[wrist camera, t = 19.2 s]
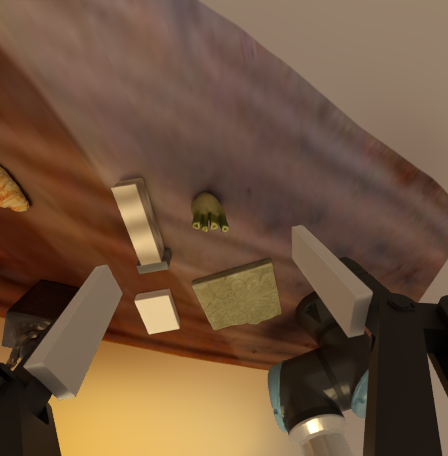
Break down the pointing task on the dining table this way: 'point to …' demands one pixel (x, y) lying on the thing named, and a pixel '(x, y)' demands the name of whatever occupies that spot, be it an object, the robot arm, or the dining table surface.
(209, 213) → the fennel bulb
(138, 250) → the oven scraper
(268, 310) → the decorative tile
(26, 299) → the dark brown crank device
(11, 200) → the croissant
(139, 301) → the cream flat block
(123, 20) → the dining table surface
